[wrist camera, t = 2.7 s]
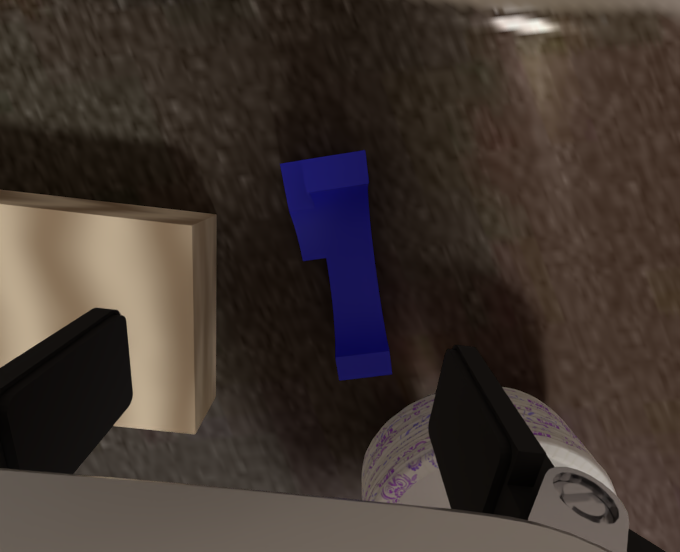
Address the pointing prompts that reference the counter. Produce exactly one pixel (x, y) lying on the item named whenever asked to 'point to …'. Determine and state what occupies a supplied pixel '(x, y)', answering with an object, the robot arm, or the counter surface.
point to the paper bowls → (421, 465)
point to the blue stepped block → (342, 254)
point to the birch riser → (117, 293)
